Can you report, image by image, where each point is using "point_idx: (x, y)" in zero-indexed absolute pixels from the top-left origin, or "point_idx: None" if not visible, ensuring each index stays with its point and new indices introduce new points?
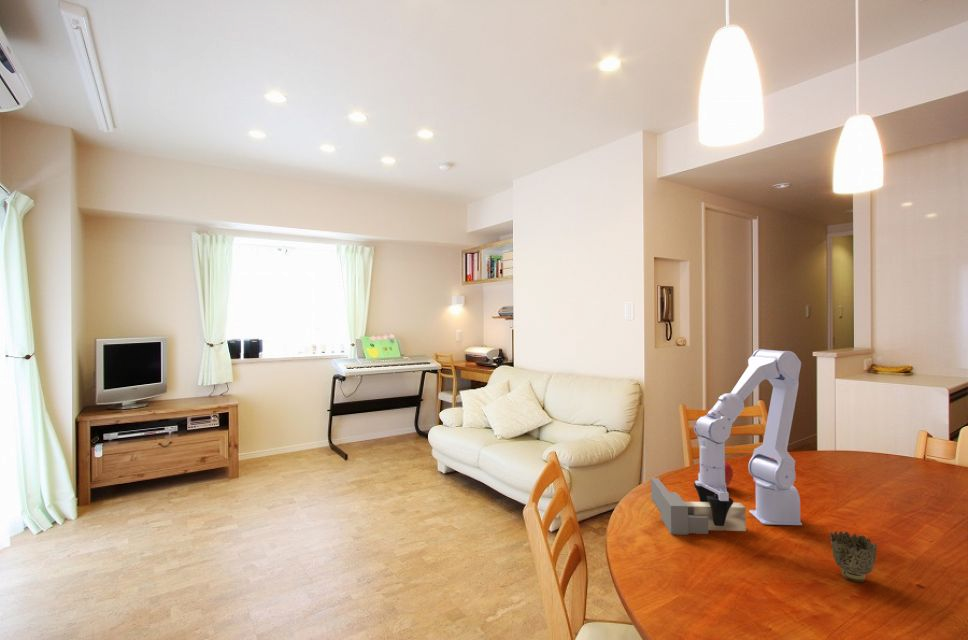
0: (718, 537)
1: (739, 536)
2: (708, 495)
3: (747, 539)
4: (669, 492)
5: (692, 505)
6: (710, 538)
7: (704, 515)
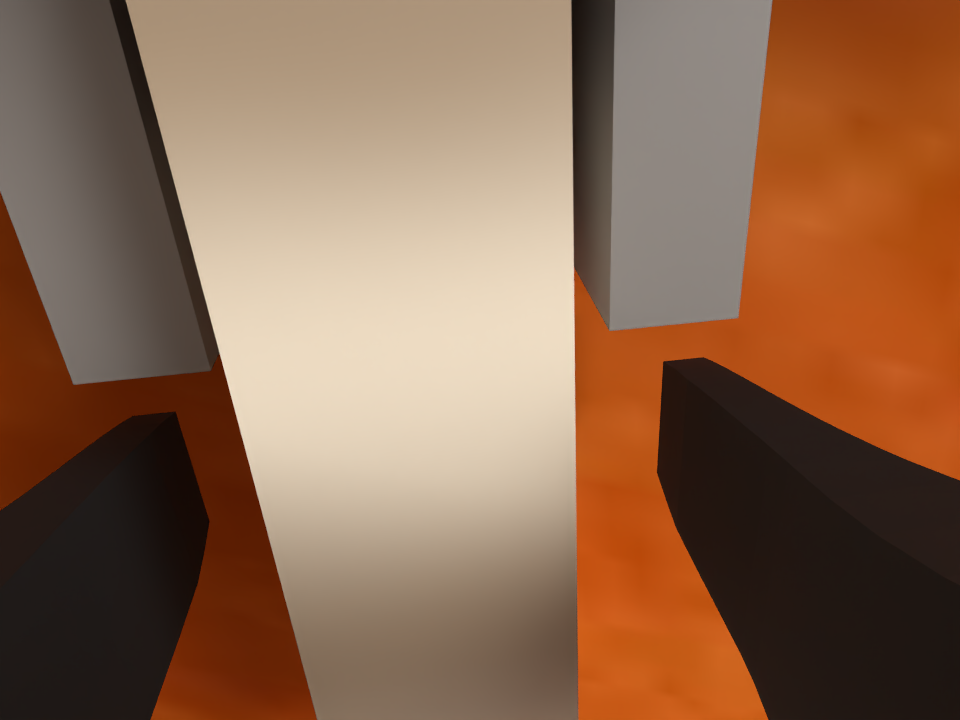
0: None
1: (222, 585)
2: (805, 681)
3: None
4: None
5: (238, 147)
6: (17, 250)
7: (179, 340)
